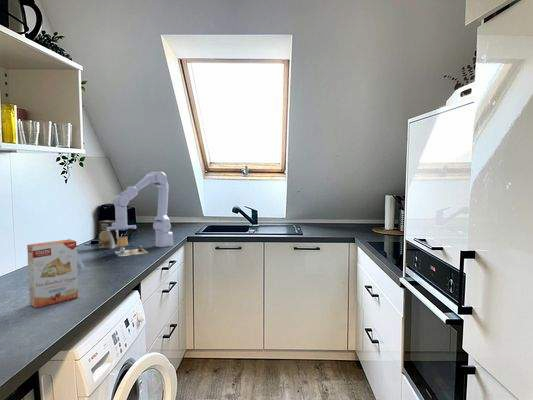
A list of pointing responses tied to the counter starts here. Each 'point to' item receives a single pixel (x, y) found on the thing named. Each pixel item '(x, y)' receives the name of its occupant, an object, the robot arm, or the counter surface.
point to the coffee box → (106, 234)
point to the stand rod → (139, 248)
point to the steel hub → (122, 249)
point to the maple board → (133, 252)
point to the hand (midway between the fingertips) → (122, 243)
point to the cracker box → (52, 272)
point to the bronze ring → (122, 241)
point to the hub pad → (122, 253)
